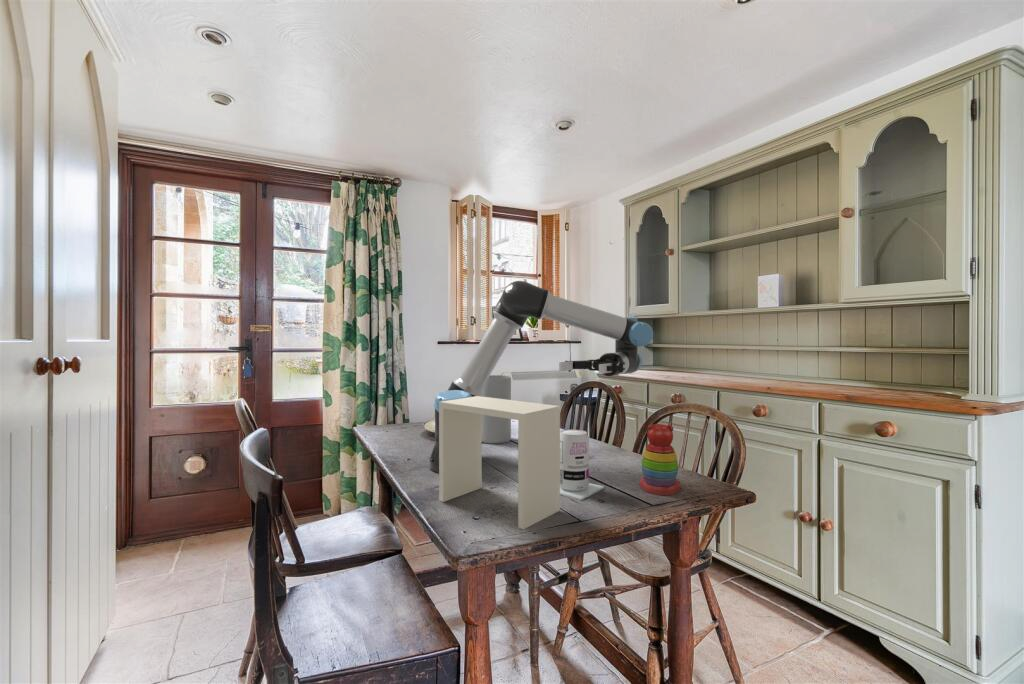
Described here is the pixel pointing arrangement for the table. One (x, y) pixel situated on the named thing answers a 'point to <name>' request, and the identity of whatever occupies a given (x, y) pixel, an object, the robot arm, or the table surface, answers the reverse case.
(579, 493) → the tile
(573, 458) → the supplement can
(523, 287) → the robot arm
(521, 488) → the tunnel
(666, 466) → the stacking bear
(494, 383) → the cylinder vase
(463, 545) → the table surface
